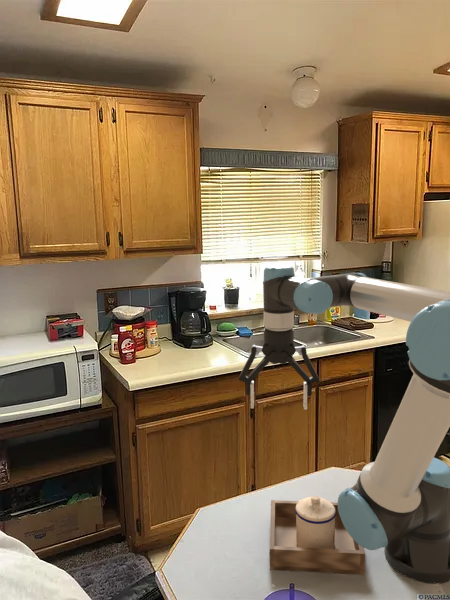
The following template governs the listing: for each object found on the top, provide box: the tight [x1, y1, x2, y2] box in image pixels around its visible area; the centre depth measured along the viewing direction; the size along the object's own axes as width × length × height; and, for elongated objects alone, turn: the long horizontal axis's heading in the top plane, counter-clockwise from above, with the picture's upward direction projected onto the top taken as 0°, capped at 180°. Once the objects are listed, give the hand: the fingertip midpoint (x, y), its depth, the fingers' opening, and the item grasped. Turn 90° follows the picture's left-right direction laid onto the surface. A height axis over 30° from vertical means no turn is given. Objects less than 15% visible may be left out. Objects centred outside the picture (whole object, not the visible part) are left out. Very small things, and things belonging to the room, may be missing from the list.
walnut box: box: [269, 499, 366, 576], centre depth 109 cm, size 20×18×5 cm
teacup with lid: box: [295, 495, 336, 549], centre depth 108 cm, size 12×9×12 cm
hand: (278, 407), depth 122 cm, fingers open, 13 cm apart
